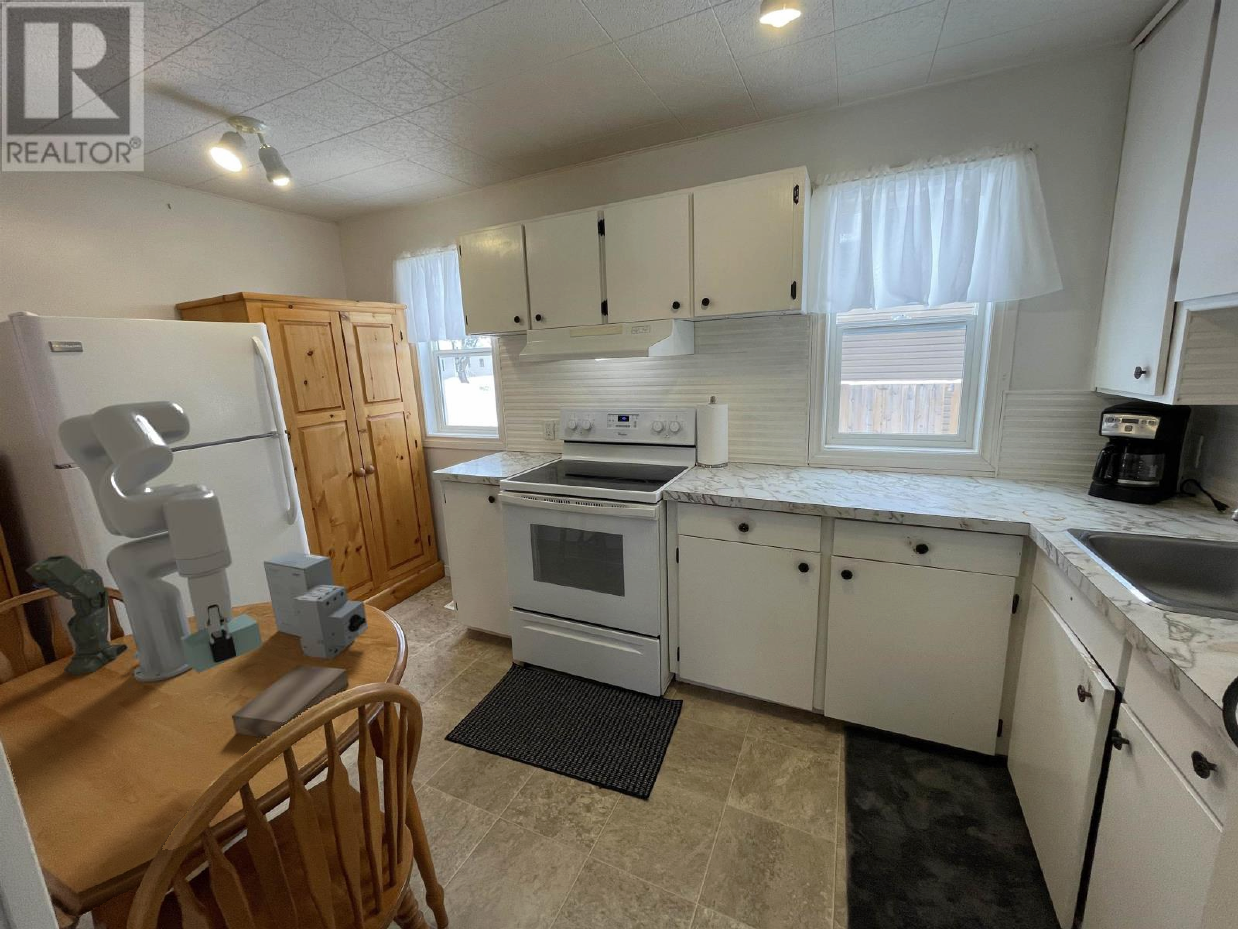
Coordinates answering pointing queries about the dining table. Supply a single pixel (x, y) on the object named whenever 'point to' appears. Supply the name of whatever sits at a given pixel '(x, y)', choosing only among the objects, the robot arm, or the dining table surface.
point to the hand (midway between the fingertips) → (225, 648)
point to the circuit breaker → (328, 620)
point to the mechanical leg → (80, 610)
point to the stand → (288, 699)
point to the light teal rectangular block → (239, 629)
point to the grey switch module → (294, 584)
